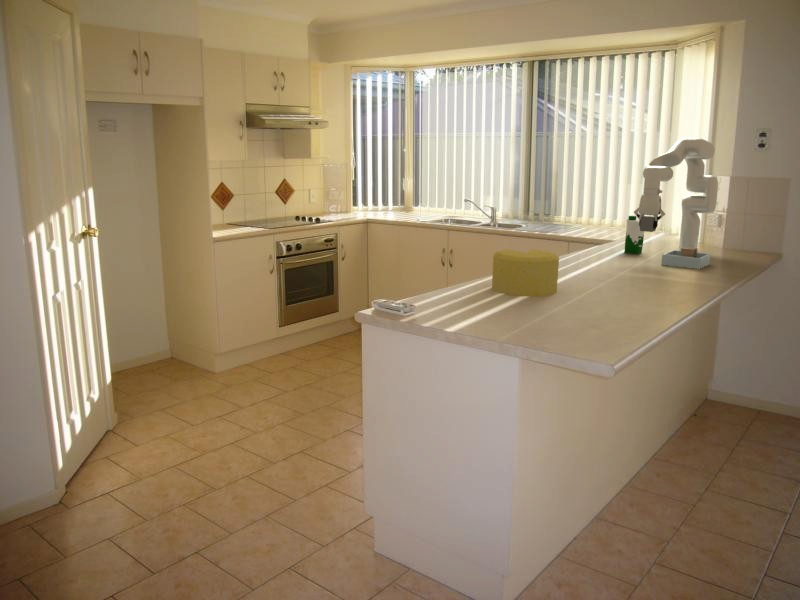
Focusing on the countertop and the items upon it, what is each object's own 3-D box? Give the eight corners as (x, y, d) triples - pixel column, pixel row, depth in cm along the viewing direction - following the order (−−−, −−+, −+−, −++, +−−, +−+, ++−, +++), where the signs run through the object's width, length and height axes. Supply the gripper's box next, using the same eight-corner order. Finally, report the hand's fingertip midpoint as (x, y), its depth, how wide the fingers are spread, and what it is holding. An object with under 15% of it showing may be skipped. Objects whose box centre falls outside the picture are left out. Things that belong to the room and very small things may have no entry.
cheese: (512, 280, 297) (514, 246, 293) (568, 289, 281) (570, 253, 277) (479, 289, 277) (481, 253, 274) (537, 299, 261) (539, 261, 258)
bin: (672, 260, 354) (673, 250, 353) (709, 264, 343) (710, 254, 342) (661, 264, 340) (662, 254, 339) (699, 269, 329) (700, 258, 328)
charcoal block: (643, 229, 351) (645, 215, 349) (655, 230, 347) (656, 216, 345) (639, 230, 346) (640, 217, 344) (651, 231, 342) (653, 217, 341)
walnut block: (683, 260, 349) (685, 247, 347) (695, 262, 345) (697, 248, 344) (679, 262, 344) (681, 248, 343) (692, 263, 341) (693, 249, 339)
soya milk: (627, 251, 382) (631, 215, 378) (644, 252, 377) (647, 216, 372) (622, 253, 375) (625, 216, 371) (638, 254, 370) (642, 217, 365)
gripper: (671, 192, 340) (667, 228, 344) (636, 190, 350) (633, 226, 354) (666, 193, 334) (662, 230, 338) (631, 191, 344) (628, 227, 349)
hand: (647, 227), depth 346 cm, fingers closed on charcoal block, 6 cm apart
